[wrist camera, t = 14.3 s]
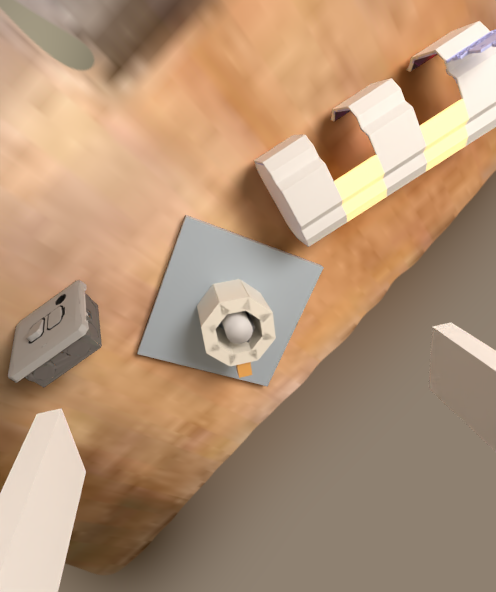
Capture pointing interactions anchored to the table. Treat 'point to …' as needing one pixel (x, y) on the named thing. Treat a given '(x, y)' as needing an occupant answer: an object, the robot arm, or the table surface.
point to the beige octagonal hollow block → (233, 300)
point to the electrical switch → (55, 336)
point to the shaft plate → (215, 269)
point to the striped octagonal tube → (385, 140)
